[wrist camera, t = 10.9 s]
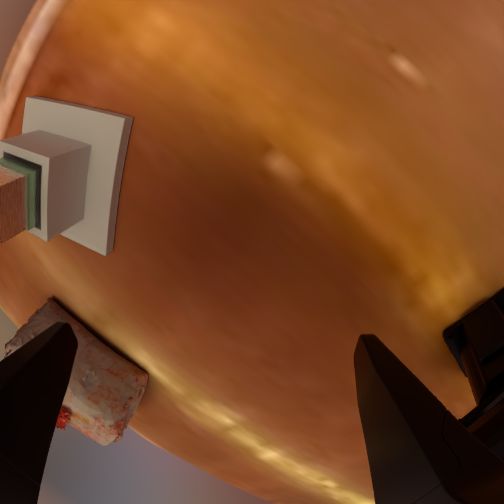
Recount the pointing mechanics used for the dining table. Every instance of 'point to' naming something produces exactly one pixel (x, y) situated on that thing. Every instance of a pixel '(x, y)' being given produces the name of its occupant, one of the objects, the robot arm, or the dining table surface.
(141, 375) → the food item
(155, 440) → the dining table surface
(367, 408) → the robot arm
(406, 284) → the dining table surface
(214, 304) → the dining table surface
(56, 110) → the stand base
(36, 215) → the column
